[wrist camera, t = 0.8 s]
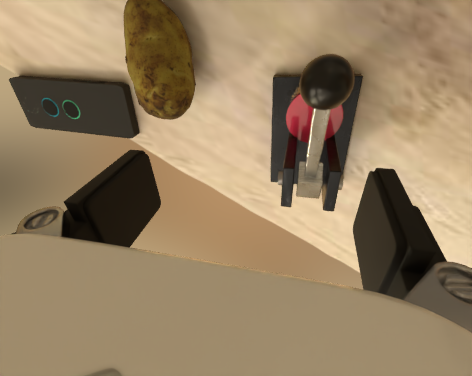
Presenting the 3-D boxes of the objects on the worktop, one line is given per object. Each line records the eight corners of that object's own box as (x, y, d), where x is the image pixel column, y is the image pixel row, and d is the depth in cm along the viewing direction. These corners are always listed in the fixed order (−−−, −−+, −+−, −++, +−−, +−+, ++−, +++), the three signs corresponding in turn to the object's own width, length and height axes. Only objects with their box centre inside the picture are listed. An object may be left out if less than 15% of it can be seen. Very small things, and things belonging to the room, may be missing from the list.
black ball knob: (302, 43, 15) (299, 77, 14) (359, 41, 15) (362, 76, 13) (293, 173, 27) (290, 199, 26) (324, 175, 27) (324, 202, 25)
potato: (203, -5, 29) (173, -10, 22) (205, 108, 36) (183, 129, 30) (137, -9, 30) (90, -14, 24) (152, 101, 37) (119, 120, 31)
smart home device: (5, 76, 39) (121, 84, 35) (16, 74, 40) (128, 82, 37) (30, 128, 44) (134, 140, 40) (39, 124, 45) (140, 135, 41)
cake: (290, 78, 30) (287, 89, 26) (342, 77, 29) (348, 89, 25) (287, 125, 33) (284, 142, 29) (334, 126, 32) (338, 144, 28)
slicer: (274, 74, 32) (254, 108, 20) (361, 73, 29) (392, 110, 18) (271, 177, 40) (256, 241, 29) (339, 183, 38) (351, 253, 27)
